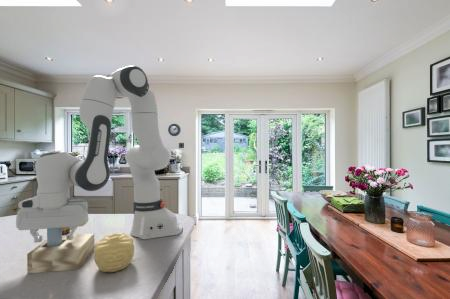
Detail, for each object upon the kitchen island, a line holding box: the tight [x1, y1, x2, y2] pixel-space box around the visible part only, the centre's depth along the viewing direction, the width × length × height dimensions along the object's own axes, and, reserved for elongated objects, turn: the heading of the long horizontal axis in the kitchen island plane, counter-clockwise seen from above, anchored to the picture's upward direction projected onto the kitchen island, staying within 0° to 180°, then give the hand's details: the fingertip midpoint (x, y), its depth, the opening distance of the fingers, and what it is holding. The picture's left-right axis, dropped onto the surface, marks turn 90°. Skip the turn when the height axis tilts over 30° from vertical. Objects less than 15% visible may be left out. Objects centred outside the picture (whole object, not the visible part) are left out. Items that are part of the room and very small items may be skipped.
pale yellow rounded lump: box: [93, 232, 135, 273], centre depth 74 cm, size 12×12×11 cm
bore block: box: [26, 233, 95, 274], centre depth 78 cm, size 14×14×6 cm
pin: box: [46, 228, 63, 247], centre depth 78 cm, size 4×4×10 cm
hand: (54, 240), depth 78 cm, fingers open, 8 cm apart
